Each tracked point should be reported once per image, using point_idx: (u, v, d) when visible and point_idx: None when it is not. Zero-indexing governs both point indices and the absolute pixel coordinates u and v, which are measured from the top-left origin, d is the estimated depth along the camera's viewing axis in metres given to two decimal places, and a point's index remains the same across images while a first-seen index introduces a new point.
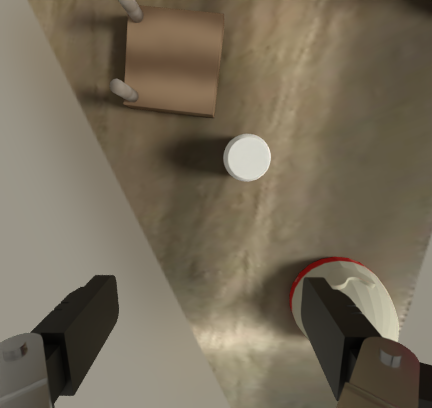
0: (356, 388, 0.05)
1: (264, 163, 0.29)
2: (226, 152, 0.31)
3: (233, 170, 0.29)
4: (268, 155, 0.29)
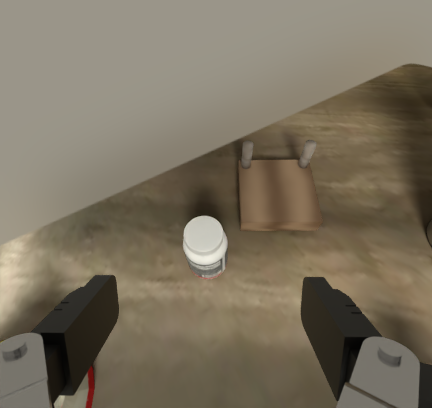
0: (356, 388, 0.05)
1: (199, 247, 0.30)
2: None
3: (191, 221, 0.32)
4: (207, 249, 0.30)
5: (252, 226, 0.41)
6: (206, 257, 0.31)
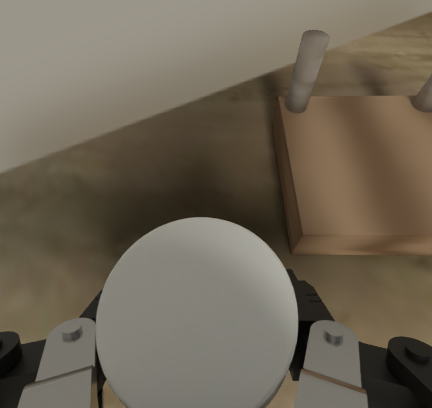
0: (311, 372, 0.05)
1: (175, 399, 0.05)
2: None
3: (142, 244, 0.07)
4: None
5: (326, 245, 0.16)
6: None
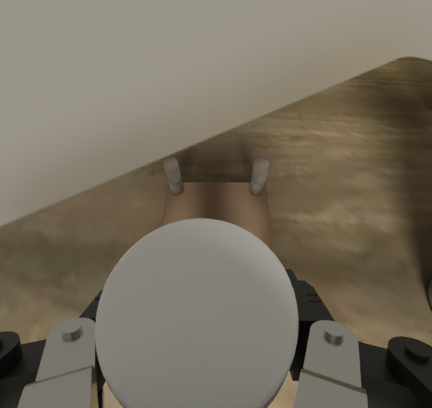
0: (310, 372, 0.05)
1: (175, 401, 0.05)
2: None
3: (142, 245, 0.07)
4: None
5: None
6: None
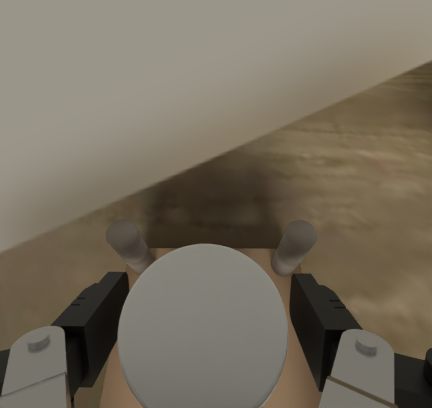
0: (338, 380, 0.05)
1: (186, 402, 0.06)
2: None
3: (155, 268, 0.08)
4: None
5: None
6: None
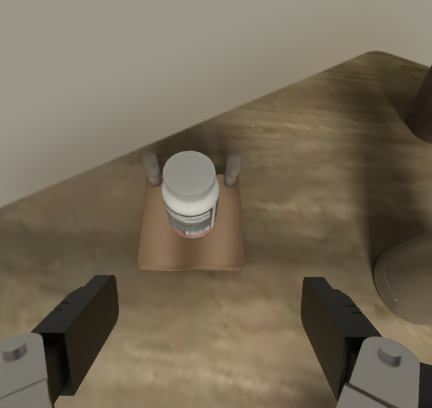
0: (356, 388, 0.05)
1: (184, 188, 0.22)
2: None
3: (173, 157, 0.24)
4: (195, 192, 0.22)
5: (155, 268, 0.31)
6: (192, 205, 0.24)
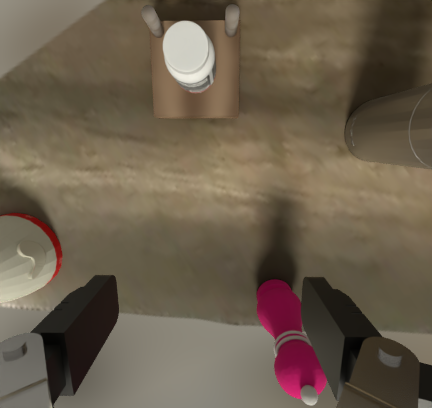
0: (356, 388, 0.05)
1: (182, 65, 0.27)
2: None
3: (170, 30, 0.26)
4: (191, 69, 0.27)
5: (168, 117, 0.39)
6: (191, 76, 0.29)
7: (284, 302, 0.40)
